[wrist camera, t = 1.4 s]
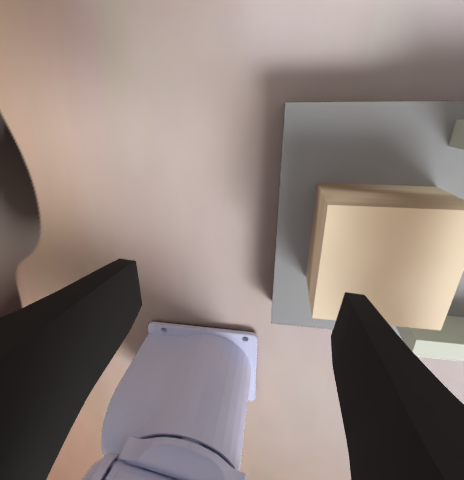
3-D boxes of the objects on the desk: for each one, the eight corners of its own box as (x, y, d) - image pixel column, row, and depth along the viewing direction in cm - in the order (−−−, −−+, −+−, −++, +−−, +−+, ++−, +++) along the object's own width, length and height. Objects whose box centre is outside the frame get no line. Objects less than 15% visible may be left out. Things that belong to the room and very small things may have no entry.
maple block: (306, 276, 18) (312, 318, 15) (317, 182, 16) (327, 204, 12) (407, 284, 17) (440, 330, 14) (436, 186, 15) (486, 211, 11)
